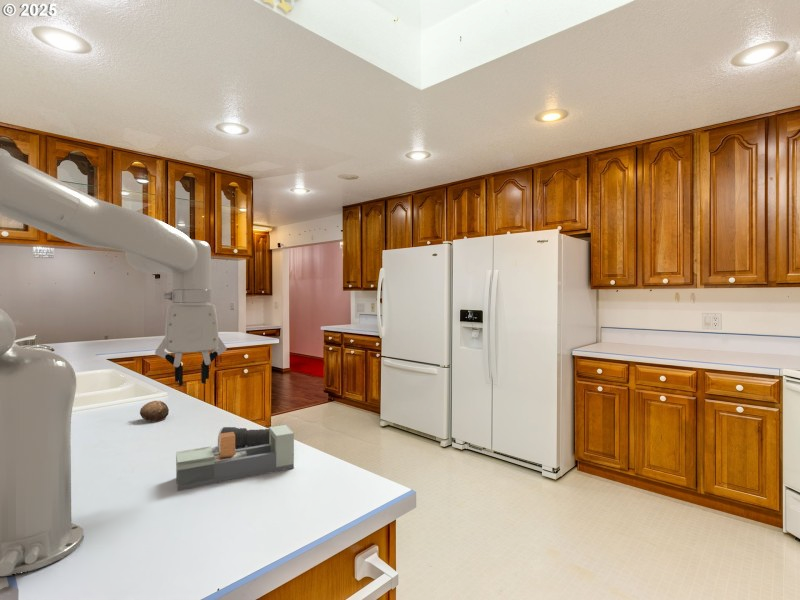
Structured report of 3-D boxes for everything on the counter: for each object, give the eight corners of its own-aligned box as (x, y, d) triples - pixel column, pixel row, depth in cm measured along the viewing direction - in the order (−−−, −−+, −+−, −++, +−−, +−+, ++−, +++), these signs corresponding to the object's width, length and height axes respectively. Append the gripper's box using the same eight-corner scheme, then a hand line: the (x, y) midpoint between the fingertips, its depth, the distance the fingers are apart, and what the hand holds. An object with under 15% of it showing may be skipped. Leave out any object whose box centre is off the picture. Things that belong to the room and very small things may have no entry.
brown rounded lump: (141, 407, 140) (147, 393, 138) (167, 413, 143) (173, 400, 141) (133, 425, 133) (139, 411, 131) (160, 432, 137) (167, 418, 134)
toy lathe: (177, 490, 89) (177, 451, 89) (176, 477, 95) (176, 440, 95) (293, 468, 101) (293, 433, 100) (286, 457, 107) (286, 424, 107)
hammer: (177, 480, 91) (176, 444, 90) (176, 474, 93) (176, 439, 93) (247, 467, 97) (247, 433, 97) (244, 462, 100) (244, 429, 100)
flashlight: (283, 444, 117) (283, 424, 117) (278, 451, 112) (278, 430, 111) (225, 444, 116) (225, 424, 116) (217, 451, 111) (217, 430, 111)
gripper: (146, 298, 85) (146, 391, 86) (235, 298, 93) (236, 383, 94) (147, 298, 92) (147, 384, 92) (230, 297, 100) (230, 377, 100)
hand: (192, 382), depth 93 cm, fingers open, 3 cm apart
